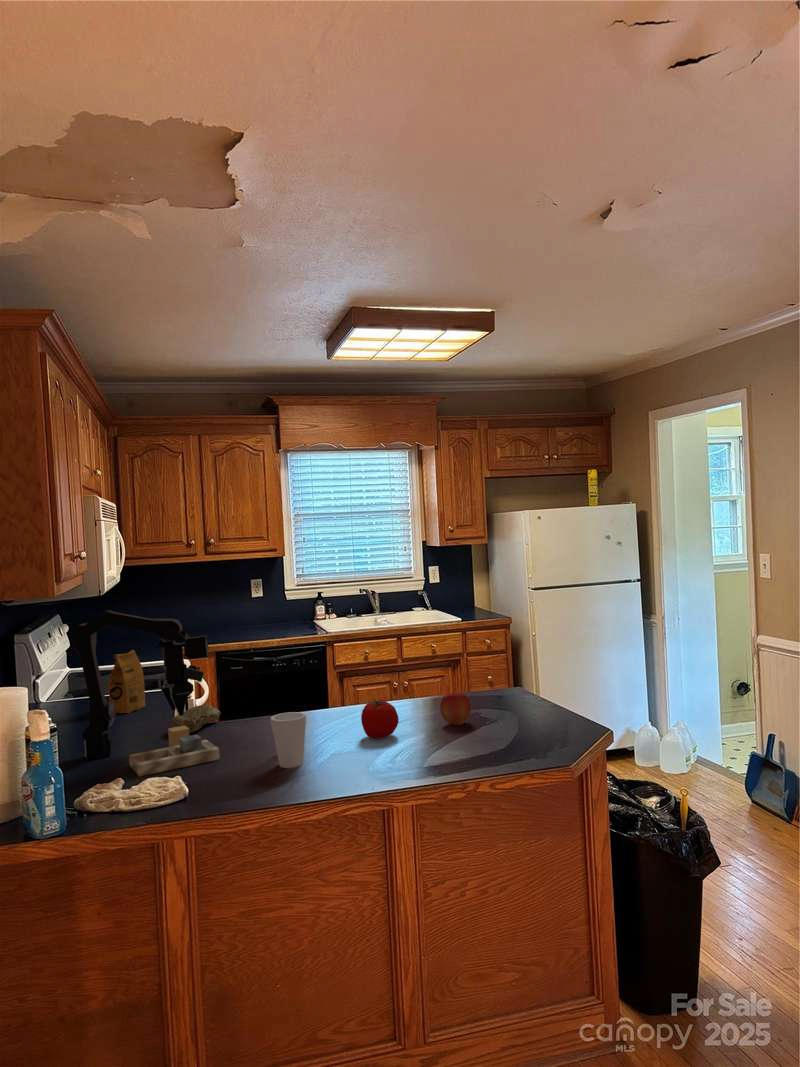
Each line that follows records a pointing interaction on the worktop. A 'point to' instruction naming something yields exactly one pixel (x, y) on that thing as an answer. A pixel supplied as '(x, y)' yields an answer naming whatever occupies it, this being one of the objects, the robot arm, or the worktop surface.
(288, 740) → the foam cup
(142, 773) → the puzzle frame
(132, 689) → the coffee package
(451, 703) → the apple
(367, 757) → the worktop surface
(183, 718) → the speckled rock
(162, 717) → the worktop surface
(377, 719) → the red fruit
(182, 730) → the block
